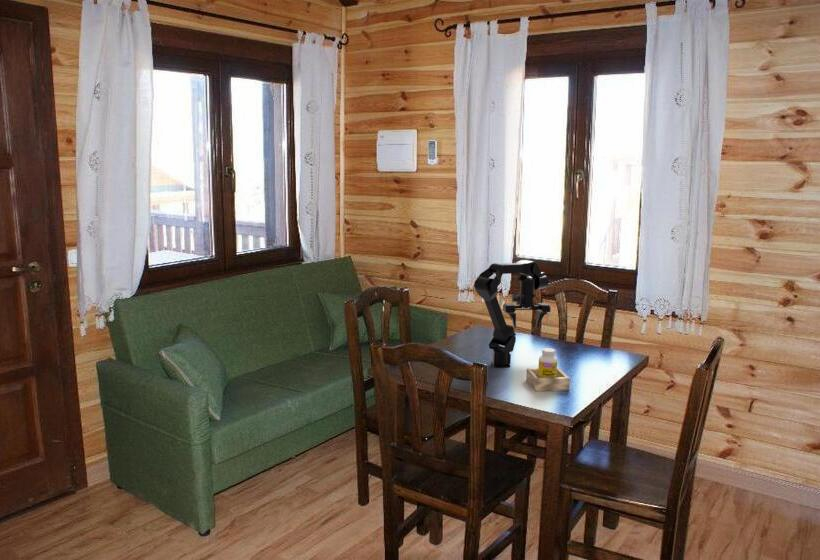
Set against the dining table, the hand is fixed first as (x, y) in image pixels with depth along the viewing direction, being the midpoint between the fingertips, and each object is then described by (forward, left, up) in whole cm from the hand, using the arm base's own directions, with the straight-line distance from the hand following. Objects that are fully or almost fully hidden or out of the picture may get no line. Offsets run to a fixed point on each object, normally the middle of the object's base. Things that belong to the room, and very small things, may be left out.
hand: (525, 328), depth 288 cm
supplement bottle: (-1, -34, -13) cm, 36 cm away
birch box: (-1, -34, -13) cm, 36 cm away
